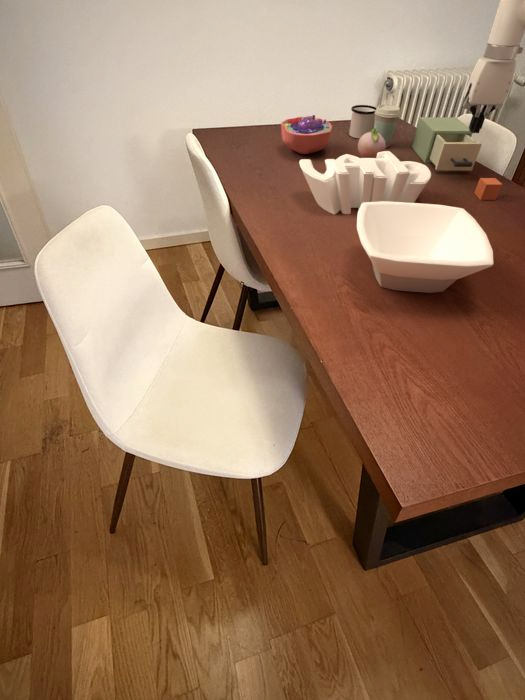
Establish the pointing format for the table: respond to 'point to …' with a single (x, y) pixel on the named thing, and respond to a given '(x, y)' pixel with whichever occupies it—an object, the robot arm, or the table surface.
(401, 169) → the white wavy slab sculpture
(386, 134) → the coffee cup
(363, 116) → the mug
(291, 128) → the cell model
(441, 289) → the bowl
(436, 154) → the drawer
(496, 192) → the block
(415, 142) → the cabinet
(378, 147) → the decorative fruit
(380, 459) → the table surface
